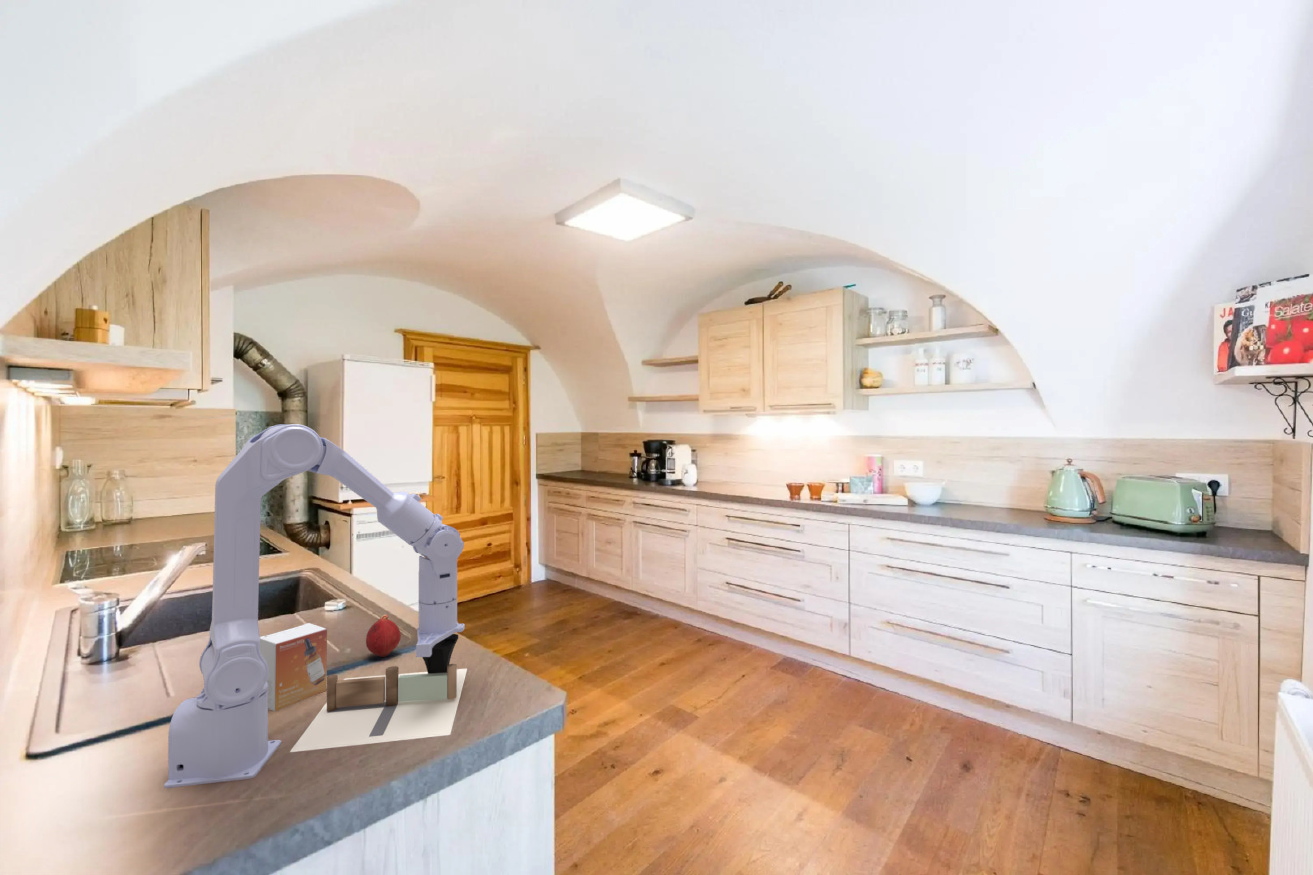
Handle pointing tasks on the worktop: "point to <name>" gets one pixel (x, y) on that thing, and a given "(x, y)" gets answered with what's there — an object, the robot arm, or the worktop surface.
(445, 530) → the robot arm
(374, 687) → the fixed fence
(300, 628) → the small box
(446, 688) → the panel
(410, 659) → the worktop surface
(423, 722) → the card
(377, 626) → the onion
